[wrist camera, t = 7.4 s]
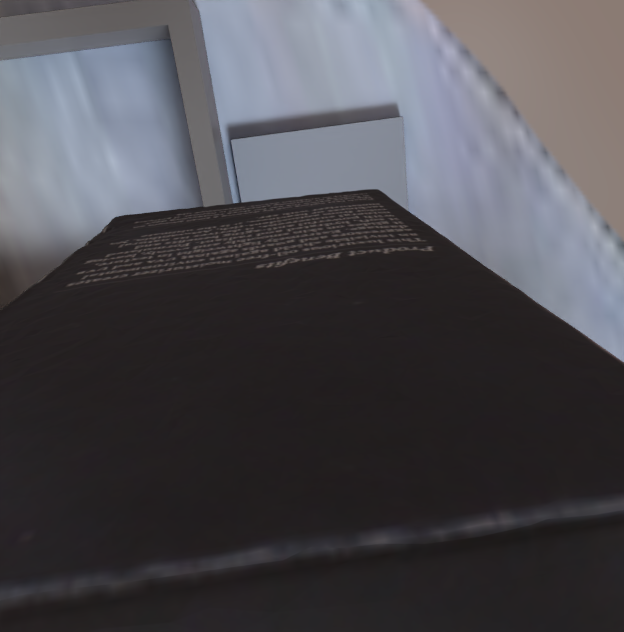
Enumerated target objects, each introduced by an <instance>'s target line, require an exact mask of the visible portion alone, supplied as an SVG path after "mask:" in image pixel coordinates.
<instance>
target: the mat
mask: <svg viewBox="0 0 624 632" xmlns="http://www.w3.org/2000/svg"><path fill="white" fill-rule="evenodd" d="M231 144H232V150H233V156H234V162H235V168H236V174H237V179H238V185H239V191H240V197H241V203H242V202H250V201H262V200H268V199H277V198H289V197H301V196H305V195H313V194H328V193H339V192H345V191H357V190H366V189H378V190H380V191H382V192H383V193H385V194H386V195H387V196H388V197H389V198H391V199H392V200H393V201H395V202H396V203H398V204H399V205H400V206H402V207H403V208H405V209H406V210H407V211H408V194H407V176H406V159H405V142H404V125H403V117H394V118H386V119H379V120H372V121H364V122H357V123H349V124H342V125H334V126H327V127H319V128H312V129H305V130H297V131H290V132H282V133H275V134H267V135H260V136H252V137H245V138H238V139H231Z"/></svg>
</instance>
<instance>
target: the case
mask: <svg viewBox="0 0 624 632" xmlns="http://www.w3.org/2000/svg"><path fill="white" fill-rule="evenodd" d="M165 39H171V42H172V47H173V52H174V57H175V62H176V68H177V73H178V78H179V83H180V88H181V93H182V98H183V103H184V108H185V114H186V119H187V124H188V129H189V134H190V139H191V144H192V149H193V154H194V160H195V165H196V170H197V175H198V180H199V185H200V190H201V195H202V200H203V206H204V207H208V206H214V205H225V204H233V201H232V195H231V189H230V184H229V178H228V172H227V166H226V161H225V155H224V149H223V144H222V138H221V132H220V127H219V121H218V115H217V109H216V104H215V98H214V92H213V87H212V81H211V75H210V70H209V64H208V58H207V53H206V47H205V41H204V35H203V30H202V24H201V18H200V13H199V10H198V9H197V8H196V6H195V5H194V3H193V2H192V0H135V1H127V2H119V3H111V4H103V5H95V6H87V7H79V8H72V9H64V10H56V11H48V12H40V13H32V14H24V15H16V16H8V17H0V61H1V60H9V59H17V58H24V57H32V56H40V55H48V54H56V53H63V52H71V51H79V50H87V49H95V48H102V47H110V46H118V45H126V44H134V43H142V42H149V41H157V40H165Z"/></svg>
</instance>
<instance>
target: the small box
mask: <svg viewBox="0 0 624 632" xmlns="http://www.w3.org/2000/svg"><path fill="white" fill-rule="evenodd" d="M0 632H624V362H622V361H621V360H619V359H618V358H616V357H615V356H614V355H612V354H611V353H609V352H608V351H607V350H605V349H604V348H602V347H601V346H600V345H598V344H597V343H595V342H594V341H593V340H591V339H590V338H588V337H587V336H585V335H584V334H583V333H581V332H580V331H578V330H577V329H575V328H574V327H572V326H571V325H569V324H568V323H566V322H565V321H563V320H562V319H560V318H559V317H557V316H556V315H554V314H553V313H551V312H550V311H548V310H547V309H545V308H544V307H542V306H541V305H539V304H538V303H536V302H535V301H534V300H532V299H531V298H530V297H529V296H527V295H526V294H525V293H523V292H522V291H521V290H519V289H518V288H516V287H514V286H513V285H511V284H510V283H509V282H508V281H506V280H505V279H503V278H502V277H500V276H499V275H497V274H496V273H494V272H493V271H491V270H490V269H488V268H487V267H485V266H484V265H482V264H481V263H480V262H478V261H477V260H475V259H474V258H473V257H471V256H470V255H469V254H467V253H466V252H465V251H463V250H462V249H460V248H459V247H458V246H456V245H455V244H454V243H452V242H451V241H450V240H448V239H447V238H446V237H444V236H442V235H441V234H439V233H438V232H437V231H435V230H434V229H433V228H431V227H430V226H429V225H427V224H425V223H424V222H423V221H421V220H420V219H418V218H417V217H416V216H414V215H413V214H411V213H410V212H409V211H407V210H406V209H405V208H403V207H402V206H400V205H399V204H398V203H396V202H395V201H393V200H392V199H391V198H389V197H388V196H387V195H386V194H385V193H383V192H382V191H380V190H378V189H366V190H357V191H345V192H339V193H328V194H313V195H305V196H301V197H289V198H277V199H268V200H262V201H250V202H242V203H233V204H225V205H214V206H208V207H198V208H190V209H177V210H169V211H160V212H151V213H142V214H134V215H124V216H119V217H115V218H114V219H113V220H112V221H111V222H110V223H109V224H108V225H107V226H106V227H105V228H104V229H103V230H102V232H101V233H99V234H98V235H97V236H95V237H94V238H93V239H92V240H91V241H88V242H87V244H86V245H85V246H84V247H82V248H80V249H79V250H77V251H76V252H74V253H73V254H72V255H71V256H69V257H68V258H67V259H65V260H64V262H63V263H62V264H61V265H60V266H59V267H58V268H56V269H54V270H52V271H50V273H49V274H47V275H45V276H44V277H43V278H42V279H41V280H39V281H38V282H37V283H36V284H34V285H33V286H31V287H30V288H28V289H27V290H26V291H25V292H23V293H22V294H21V295H20V296H18V297H17V298H16V299H15V300H14V301H12V302H11V303H10V304H9V305H7V306H6V307H4V308H3V309H2V310H0Z"/></svg>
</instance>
